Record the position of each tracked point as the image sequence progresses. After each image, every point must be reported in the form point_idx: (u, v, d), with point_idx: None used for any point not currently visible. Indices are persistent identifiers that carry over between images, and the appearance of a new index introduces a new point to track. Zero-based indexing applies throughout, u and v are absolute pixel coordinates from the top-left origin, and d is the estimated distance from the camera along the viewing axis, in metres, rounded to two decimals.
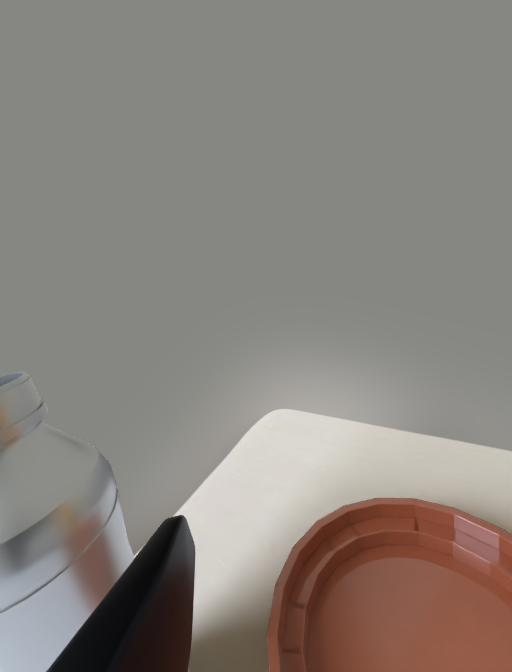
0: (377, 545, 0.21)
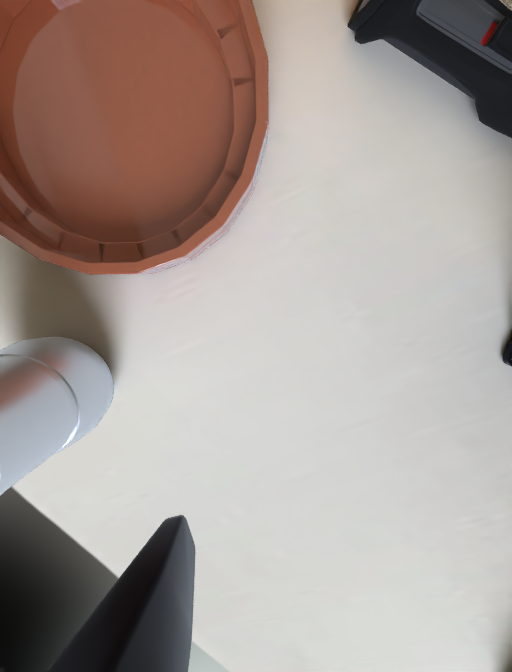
0: None
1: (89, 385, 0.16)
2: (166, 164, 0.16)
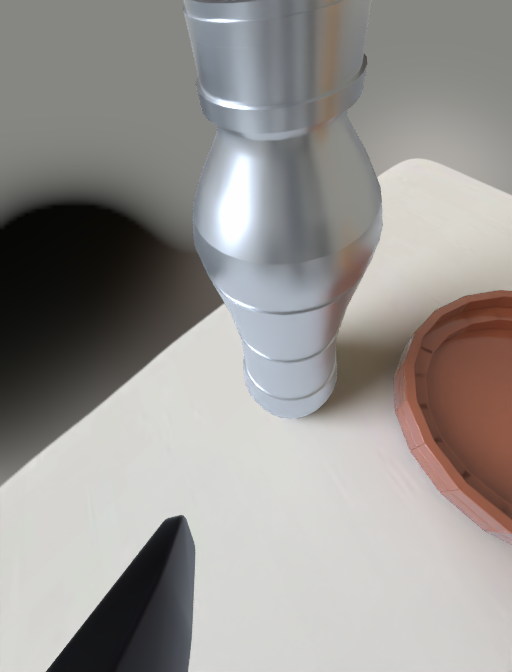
0: (508, 329, 0.22)
1: (311, 404, 0.18)
2: None
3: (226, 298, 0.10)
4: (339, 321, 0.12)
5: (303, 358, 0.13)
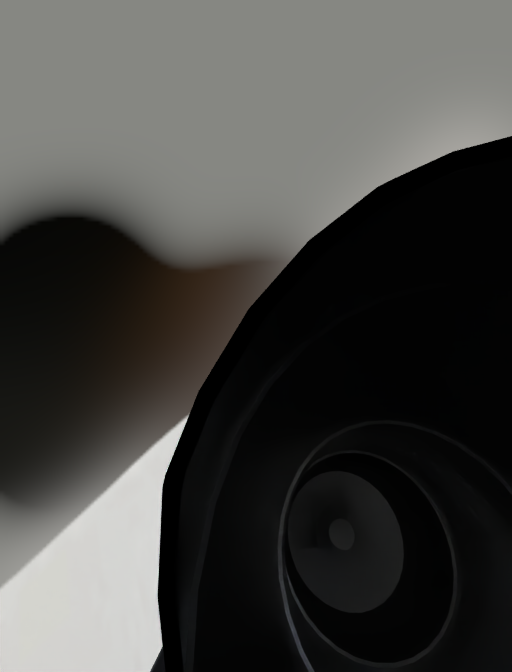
0: None
1: None
2: None
3: None
4: None
5: None
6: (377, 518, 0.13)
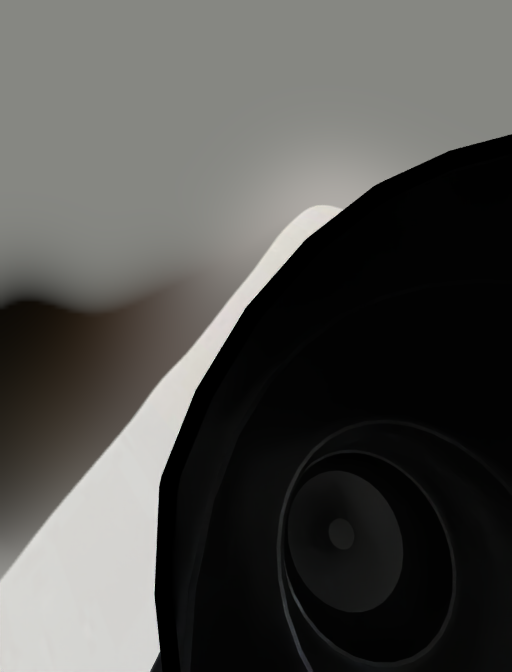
0: None
1: None
2: None
3: None
4: None
5: None
6: (376, 518, 0.13)
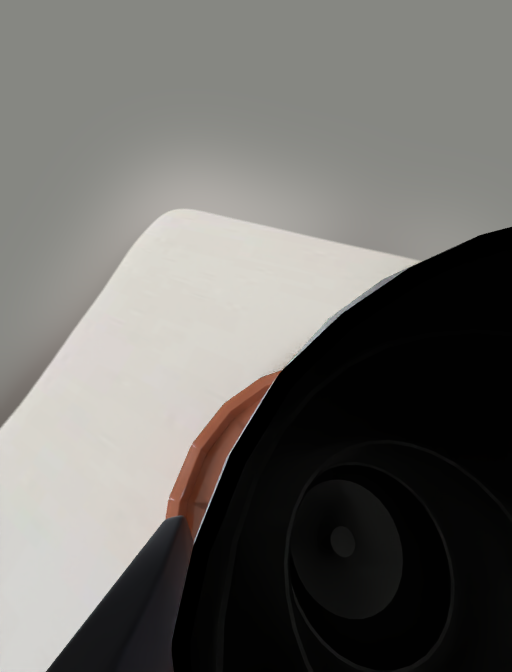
0: None
1: None
2: None
3: None
4: None
5: None
6: (377, 526, 0.14)
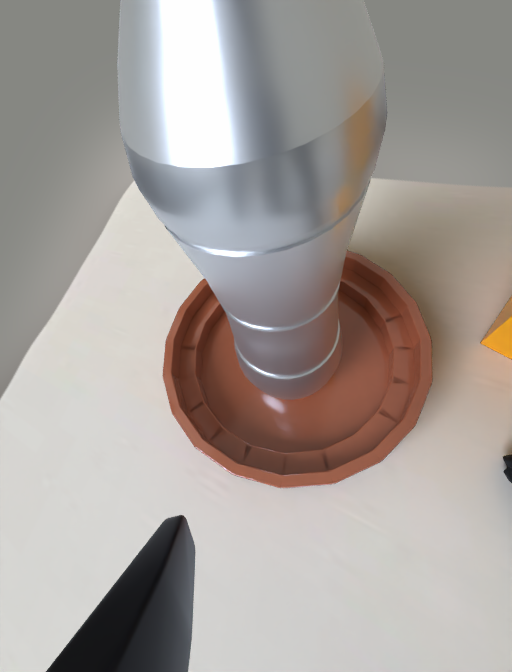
0: None
1: (315, 381, 0.15)
2: (291, 403, 0.19)
3: (184, 245, 0.08)
4: (338, 270, 0.09)
5: (298, 323, 0.11)
6: None
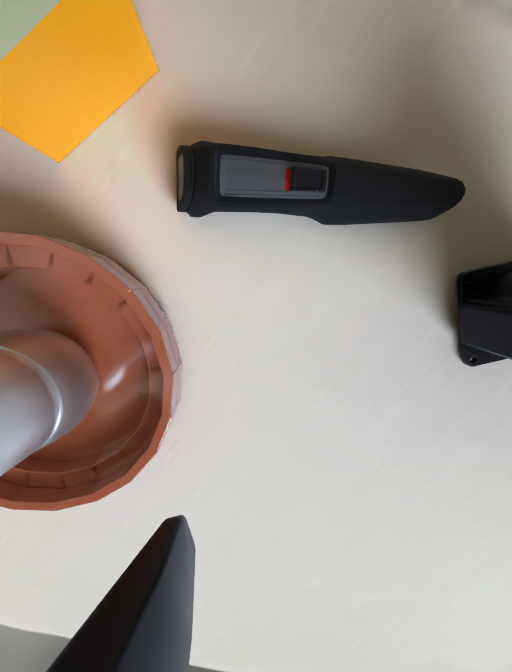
0: None
1: (72, 377, 0.15)
2: (105, 378, 0.19)
3: None
4: None
5: None
6: None
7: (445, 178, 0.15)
